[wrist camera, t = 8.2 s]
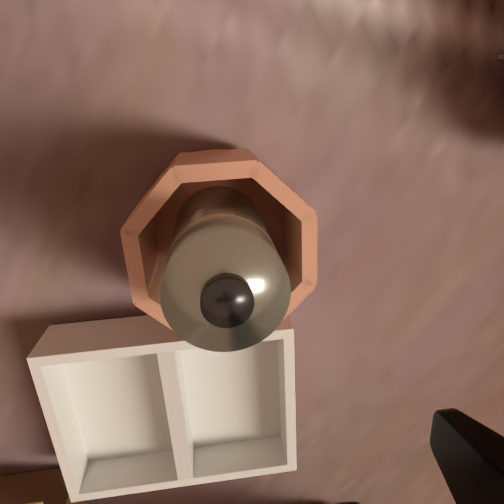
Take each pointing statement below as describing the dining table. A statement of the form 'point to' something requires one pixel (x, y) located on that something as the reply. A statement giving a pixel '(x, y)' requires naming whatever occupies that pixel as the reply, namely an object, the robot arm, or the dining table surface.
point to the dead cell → (223, 274)
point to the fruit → (500, 57)
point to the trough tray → (162, 406)
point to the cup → (208, 175)
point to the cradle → (35, 488)
